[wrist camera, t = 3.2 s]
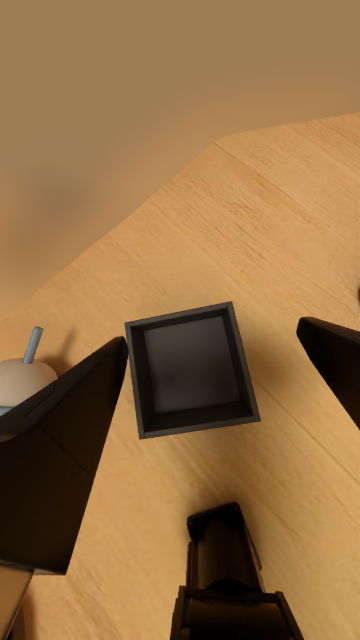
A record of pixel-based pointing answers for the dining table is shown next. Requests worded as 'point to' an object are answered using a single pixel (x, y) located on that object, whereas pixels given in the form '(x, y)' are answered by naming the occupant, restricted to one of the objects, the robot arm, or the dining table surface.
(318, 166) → the dining table surface
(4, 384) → the cup with straw
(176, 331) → the bin
